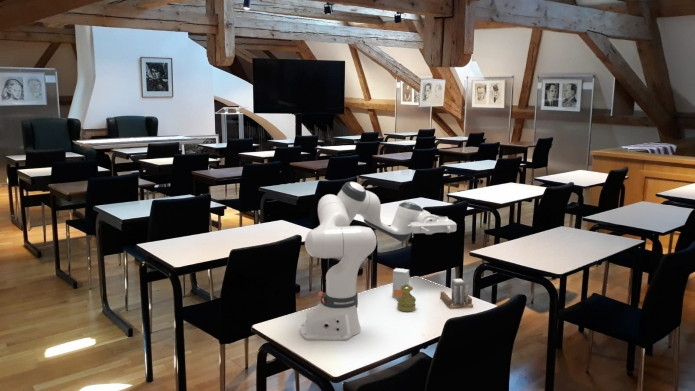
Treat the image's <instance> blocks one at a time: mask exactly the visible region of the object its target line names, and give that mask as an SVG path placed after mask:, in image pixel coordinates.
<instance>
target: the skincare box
mask: <svg viewBox="0 0 695 391" xmlns="http://www.w3.org/2000/svg"><path fill="white" fill-rule="evenodd" d="M403 285H410V269H405V268H398V267H395V268H394V269H393V270H392V295H391V296H392V298H398V297H399V296H400V295H401V294H403V291H402V290H401V289H400V288H401V286H403Z"/></svg>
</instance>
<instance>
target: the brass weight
mask: <svg viewBox="0 0 695 391" xmlns="http://www.w3.org/2000/svg"><path fill="white" fill-rule="evenodd" d="M400 289H401V290H402V291H403V294H401V295H400V296H399V297H398V298H397V299H396V300H397V303H396V304H397V310H399V311H400V312H405V313H406V312H407V313H409V312H413V311H415V310H416V300H417V298H416V297H415V296H414V295H413V294H412V293H411V291H413V289H414V288H413V286H412V285H410V284H409V285H403V286H401V288H400Z"/></svg>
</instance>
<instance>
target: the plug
mask: <svg viewBox="0 0 695 391" xmlns="http://www.w3.org/2000/svg"><path fill="white" fill-rule="evenodd" d="M454 286H457V292H456V305H459V302H460V286H463V289H462V304H465V302H464V295H465V293H466V283H465V281H464V280H463V279H462V278H453V279H452V280H451V298H450V299H451V300H452V305H454Z"/></svg>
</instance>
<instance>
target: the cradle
mask: <svg viewBox="0 0 695 391" xmlns="http://www.w3.org/2000/svg"><path fill="white" fill-rule="evenodd" d="M462 289H463V286H460V302H459V305H456V292H457V286H454V305H452V300H451V299H452V298H450V296H448V294H447V293H446V292H445V291H440V294H439V296H440V298H439V299H440V300H441V301H442V302H443V303H444V304H445V305H446V307H447V308H448V309H449V310H453V309H466V308H467V309H468V308H471V309H472V308H474V304H473V303H472V302H473V299H472V297H470V295H469V285H467V284H465V295H464V304H462Z"/></svg>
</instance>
